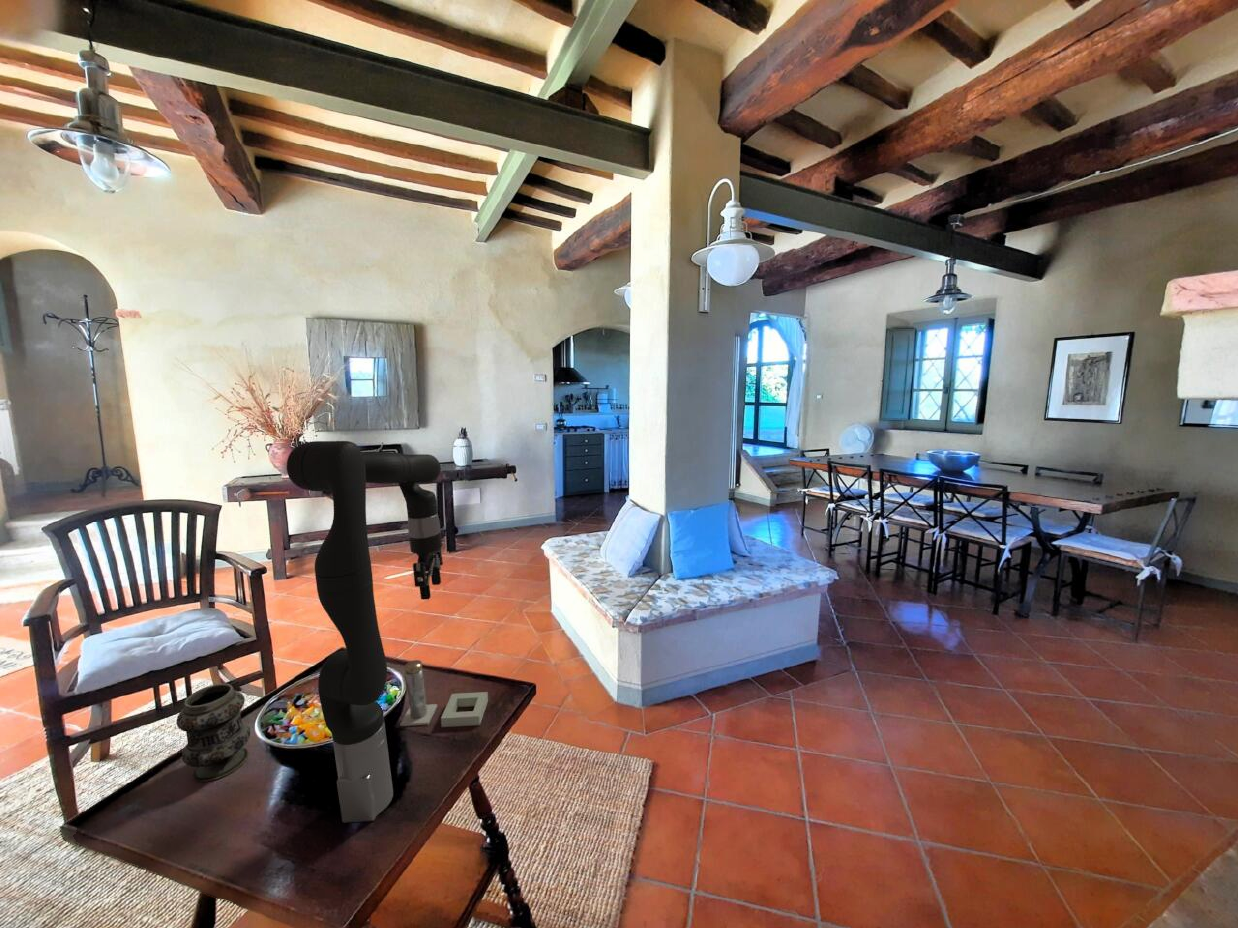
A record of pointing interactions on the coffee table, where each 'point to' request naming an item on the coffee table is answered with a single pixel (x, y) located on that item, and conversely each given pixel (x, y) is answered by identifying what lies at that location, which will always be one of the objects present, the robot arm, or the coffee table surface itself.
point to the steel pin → (416, 689)
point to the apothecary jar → (214, 732)
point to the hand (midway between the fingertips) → (431, 591)
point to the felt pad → (422, 721)
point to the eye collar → (464, 718)
